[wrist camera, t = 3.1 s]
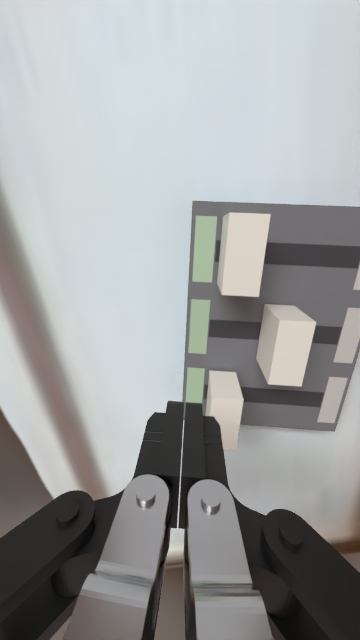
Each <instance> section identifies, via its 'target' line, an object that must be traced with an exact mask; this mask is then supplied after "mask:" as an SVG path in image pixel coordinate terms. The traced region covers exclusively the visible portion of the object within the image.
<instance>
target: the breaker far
mask: <svg viewBox="0 0 360 640" xmlns="http://www.w3.org/2000/svg"><path fill="white" fill-rule="evenodd" d="M243 401H244V399H243V396H242V392H241V389H240V385H239V382H238V378H237V374H236V372H225V371H210V370H209V380H208V391H207V403H206V414H205V416H213V417H215V419H216V420H217V422H218V423H219V425H220V428H221V436H222V437H221V438H222V444H223V450H232V451H236V449H237V442H238V435H239V428H240V421H241V414H242V408H243Z"/></svg>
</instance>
